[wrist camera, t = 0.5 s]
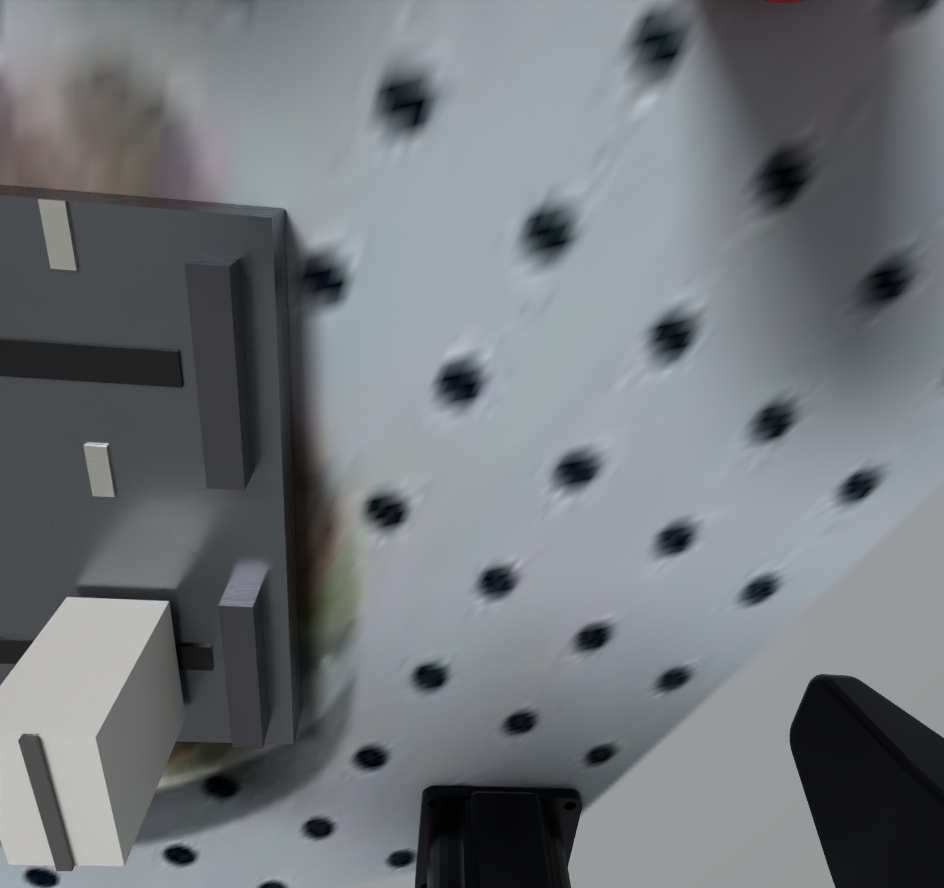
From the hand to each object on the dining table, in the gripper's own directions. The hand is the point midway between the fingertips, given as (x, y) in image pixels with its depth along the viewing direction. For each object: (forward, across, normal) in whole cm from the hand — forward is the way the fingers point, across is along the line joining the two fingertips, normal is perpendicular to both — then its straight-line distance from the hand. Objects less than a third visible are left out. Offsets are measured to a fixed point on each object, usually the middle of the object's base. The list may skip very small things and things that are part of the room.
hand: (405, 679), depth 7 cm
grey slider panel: (+13, +13, +6) cm, 19 cm away
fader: (+12, +9, +11) cm, 18 cm away
